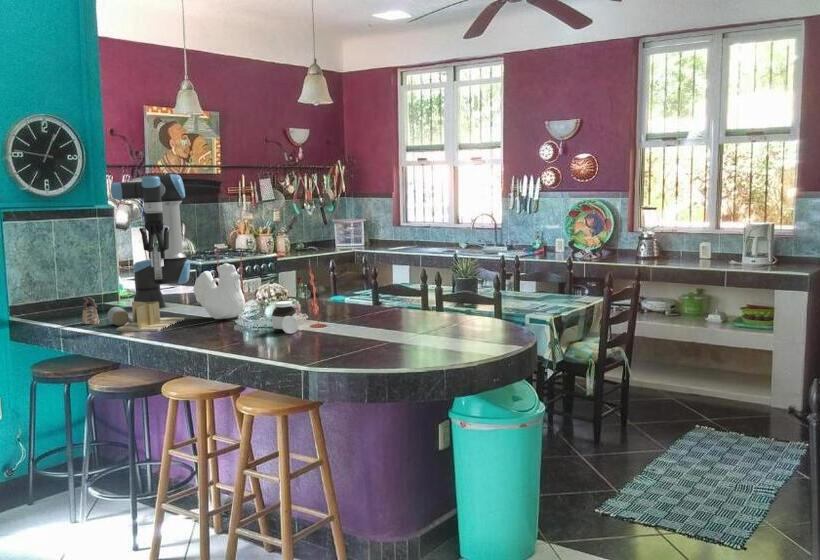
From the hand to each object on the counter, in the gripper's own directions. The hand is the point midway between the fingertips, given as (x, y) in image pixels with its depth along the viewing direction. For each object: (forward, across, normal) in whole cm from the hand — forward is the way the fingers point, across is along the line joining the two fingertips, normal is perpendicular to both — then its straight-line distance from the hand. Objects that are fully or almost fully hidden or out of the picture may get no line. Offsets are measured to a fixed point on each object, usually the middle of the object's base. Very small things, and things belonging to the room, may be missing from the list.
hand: (157, 266), depth 338 cm
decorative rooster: (+25, +23, +12) cm, 36 cm away
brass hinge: (+24, -5, -9) cm, 26 cm away
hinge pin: (+6, 0, 0) cm, 6 cm away
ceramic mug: (+25, -17, -3) cm, 31 cm away
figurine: (+25, -33, -1) cm, 42 cm away
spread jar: (+26, +63, -19) cm, 71 cm away
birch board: (+25, -2, -5) cm, 26 cm away
